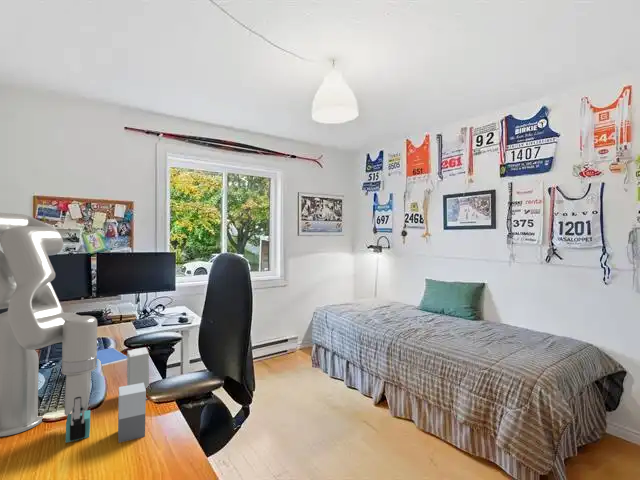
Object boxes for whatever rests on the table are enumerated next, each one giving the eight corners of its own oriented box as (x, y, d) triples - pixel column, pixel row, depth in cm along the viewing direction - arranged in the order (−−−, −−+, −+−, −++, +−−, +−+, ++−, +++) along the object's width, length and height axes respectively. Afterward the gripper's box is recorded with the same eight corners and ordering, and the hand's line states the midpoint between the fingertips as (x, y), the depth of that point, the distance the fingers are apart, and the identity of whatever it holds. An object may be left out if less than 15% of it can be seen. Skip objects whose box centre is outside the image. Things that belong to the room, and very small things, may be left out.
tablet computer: (130, 360, 147) (130, 357, 147) (97, 368, 137) (97, 365, 137) (113, 350, 159) (113, 347, 159) (81, 357, 149) (81, 354, 149)
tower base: (118, 442, 88) (119, 419, 88) (118, 431, 93) (118, 409, 93) (144, 436, 91) (145, 413, 91) (143, 425, 97) (143, 404, 97)
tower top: (119, 419, 88) (119, 396, 88) (118, 409, 93) (118, 387, 93) (145, 413, 91) (145, 391, 91) (143, 404, 97) (143, 382, 96)
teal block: (65, 442, 88) (65, 423, 88) (67, 433, 92) (67, 414, 92) (89, 437, 90) (89, 418, 90) (90, 428, 95) (90, 409, 95)
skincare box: (149, 399, 112) (150, 353, 112) (128, 404, 108) (129, 356, 108) (146, 389, 119) (146, 346, 119) (125, 393, 115) (126, 349, 115)
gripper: (65, 356, 96) (64, 421, 97) (57, 378, 82) (56, 455, 82) (97, 352, 100) (96, 415, 101) (95, 372, 86) (94, 446, 86)
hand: (78, 432), depth 91 cm, fingers closed on teal block, 5 cm apart
